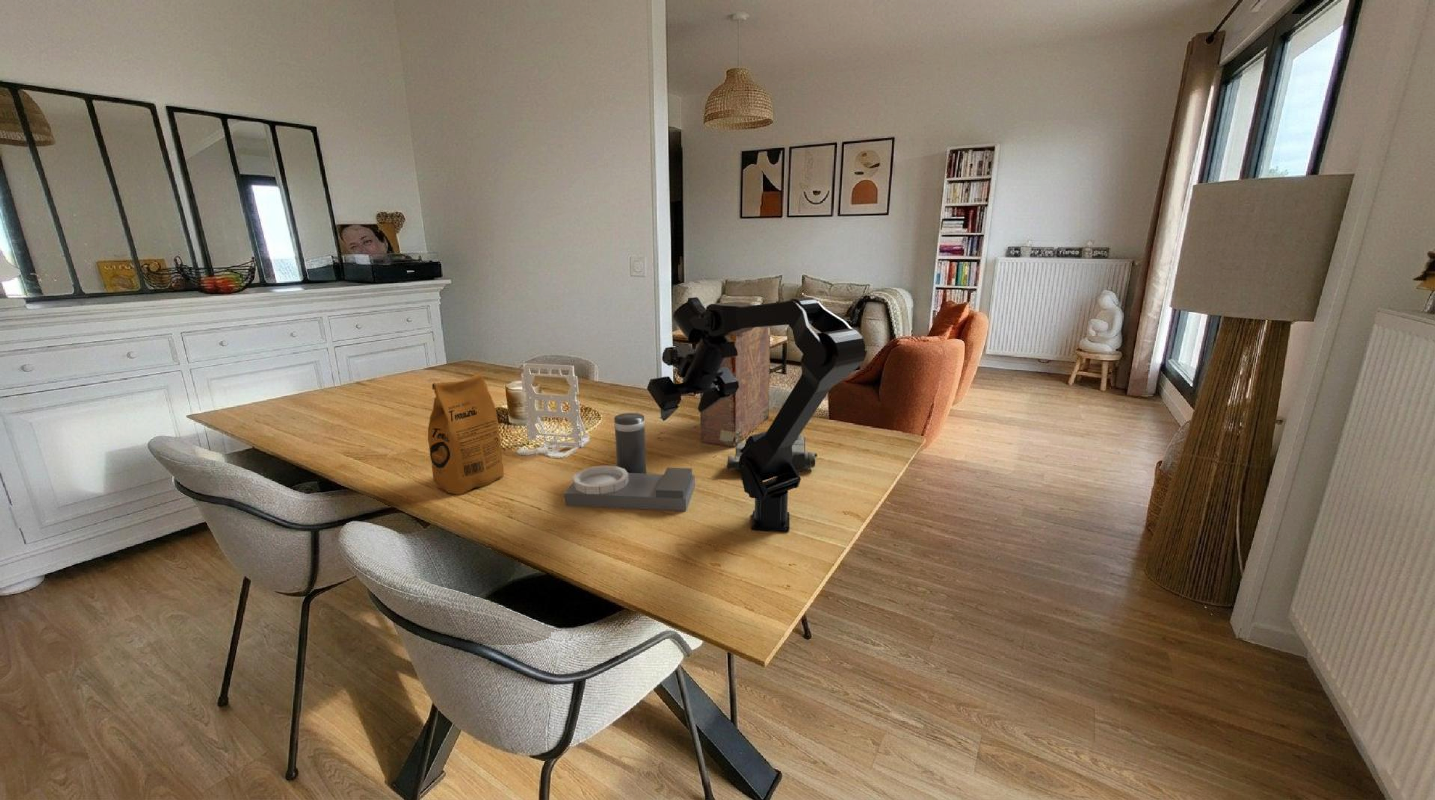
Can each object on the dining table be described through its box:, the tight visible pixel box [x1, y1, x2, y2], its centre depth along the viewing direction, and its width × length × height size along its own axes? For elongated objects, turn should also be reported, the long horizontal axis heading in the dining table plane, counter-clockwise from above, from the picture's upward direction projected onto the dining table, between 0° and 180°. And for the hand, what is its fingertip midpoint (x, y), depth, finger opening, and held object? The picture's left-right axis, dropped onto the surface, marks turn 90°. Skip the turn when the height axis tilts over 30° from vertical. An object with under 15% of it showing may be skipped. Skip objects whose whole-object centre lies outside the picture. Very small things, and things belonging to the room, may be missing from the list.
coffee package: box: [427, 372, 505, 496], centre depth 114 cm, size 10×12×22 cm
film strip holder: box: [515, 363, 591, 459], centre depth 134 cm, size 14×14×20 cm
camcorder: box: [726, 434, 818, 472], centre depth 127 cm, size 16×20×5 cm
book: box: [699, 326, 771, 448], centre depth 144 cm, size 25×9×30 cm, turn 157°
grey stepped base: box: [563, 464, 696, 512], centre depth 110 cm, size 11×23×4 cm, turn 83°
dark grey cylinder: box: [613, 412, 647, 474], centre depth 118 cm, size 6×6×13 cm
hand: (681, 414), depth 116 cm, fingers open, 9 cm apart
